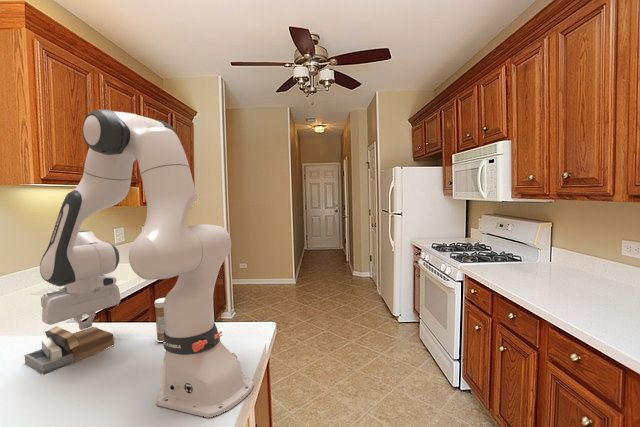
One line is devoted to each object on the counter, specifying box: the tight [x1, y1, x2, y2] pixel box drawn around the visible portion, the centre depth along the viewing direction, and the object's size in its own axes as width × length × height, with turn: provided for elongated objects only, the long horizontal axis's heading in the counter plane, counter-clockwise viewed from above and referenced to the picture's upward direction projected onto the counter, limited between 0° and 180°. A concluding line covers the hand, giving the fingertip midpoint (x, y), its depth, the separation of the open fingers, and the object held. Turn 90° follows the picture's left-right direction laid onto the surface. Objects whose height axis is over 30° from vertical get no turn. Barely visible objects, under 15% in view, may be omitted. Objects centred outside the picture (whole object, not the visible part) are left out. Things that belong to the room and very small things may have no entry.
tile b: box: [41, 337, 57, 359], centre depth 96 cm, size 4×4×2 cm
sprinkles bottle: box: [154, 297, 166, 341], centre depth 106 cm, size 5×5×13 cm
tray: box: [24, 348, 75, 375], centre depth 94 cm, size 12×7×2 cm, turn 59°
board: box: [68, 326, 115, 363], centre depth 102 cm, size 12×11×4 cm
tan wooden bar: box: [44, 326, 79, 351], centre depth 97 cm, size 12×3×4 cm, turn 59°
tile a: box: [49, 346, 62, 361], centre depth 93 cm, size 4×4×2 cm
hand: (85, 327), depth 102 cm, fingers closed
